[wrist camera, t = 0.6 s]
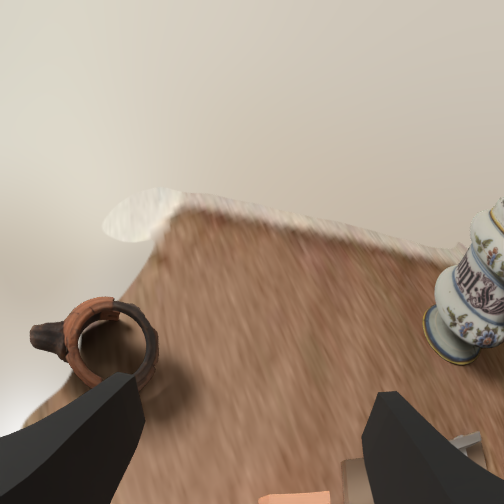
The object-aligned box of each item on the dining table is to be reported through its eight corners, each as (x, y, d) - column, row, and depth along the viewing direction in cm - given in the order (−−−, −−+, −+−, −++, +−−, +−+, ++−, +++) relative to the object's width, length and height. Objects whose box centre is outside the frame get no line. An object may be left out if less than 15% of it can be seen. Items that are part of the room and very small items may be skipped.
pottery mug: (143, 308, 32) (160, 286, 26) (154, 396, 29) (175, 399, 22) (35, 308, 26) (21, 283, 19) (42, 400, 22) (27, 405, 16)
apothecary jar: (479, 312, 36) (544, 213, 24) (488, 381, 27) (583, 276, 16) (414, 288, 39) (474, 174, 27) (413, 359, 30) (507, 231, 18)
